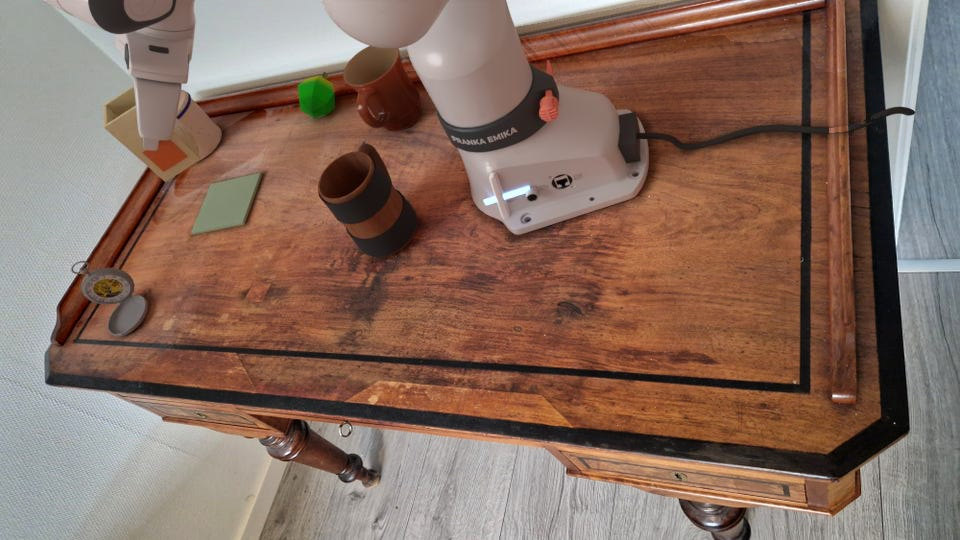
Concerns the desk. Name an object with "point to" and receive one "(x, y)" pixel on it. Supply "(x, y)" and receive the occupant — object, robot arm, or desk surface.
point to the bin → (124, 128)
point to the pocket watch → (114, 297)
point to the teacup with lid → (198, 124)
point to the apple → (316, 96)
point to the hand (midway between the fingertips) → (148, 133)
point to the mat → (227, 204)
